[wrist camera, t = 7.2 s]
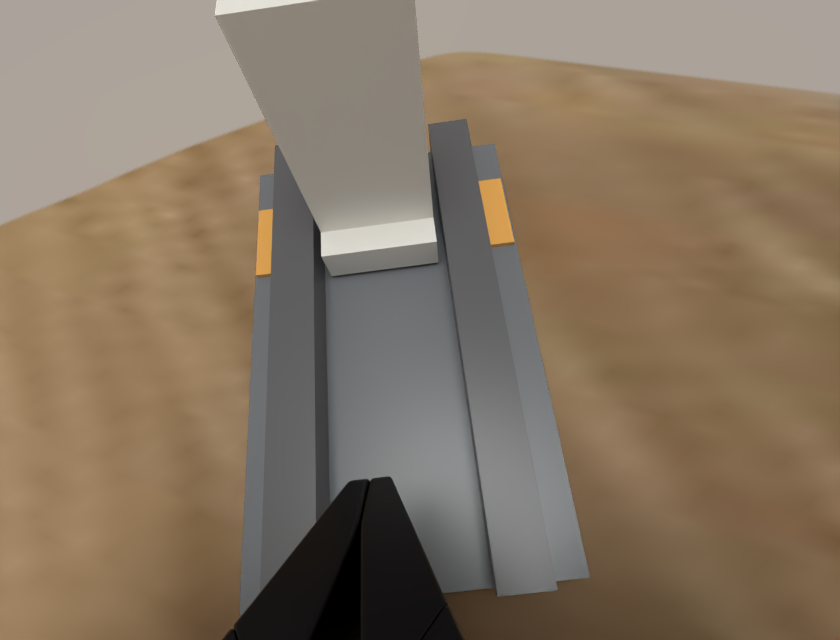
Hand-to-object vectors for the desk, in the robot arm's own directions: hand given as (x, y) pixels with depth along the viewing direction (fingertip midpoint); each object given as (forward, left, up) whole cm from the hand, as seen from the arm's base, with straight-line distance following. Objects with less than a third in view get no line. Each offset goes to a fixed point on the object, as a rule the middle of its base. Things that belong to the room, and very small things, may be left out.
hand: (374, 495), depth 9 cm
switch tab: (+9, -6, -5) cm, 12 cm away
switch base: (+5, -3, -7) cm, 9 cm away
